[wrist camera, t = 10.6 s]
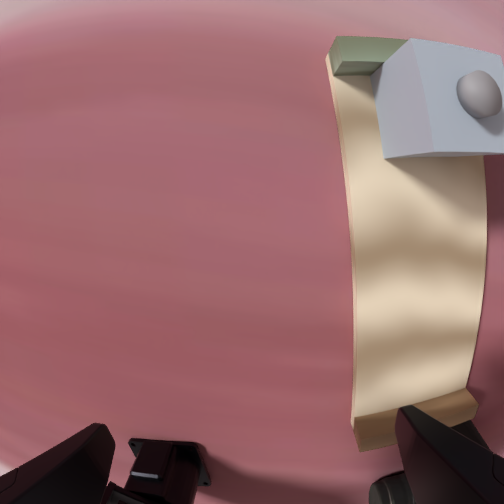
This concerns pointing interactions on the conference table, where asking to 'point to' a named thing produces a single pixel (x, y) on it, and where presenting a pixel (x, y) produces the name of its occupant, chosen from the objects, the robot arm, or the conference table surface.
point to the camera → (397, 487)
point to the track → (406, 260)
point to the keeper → (440, 101)
